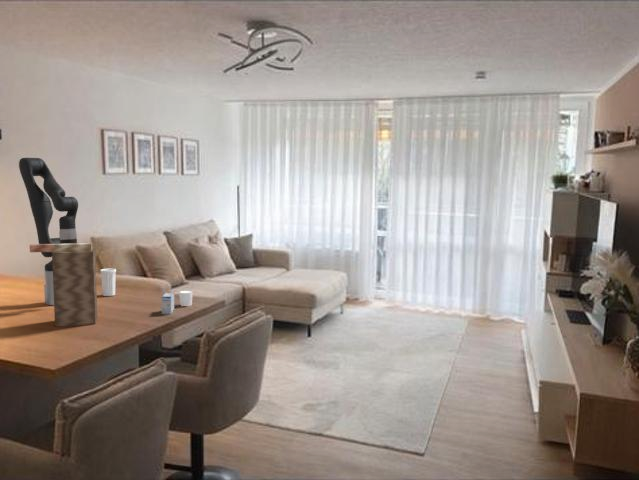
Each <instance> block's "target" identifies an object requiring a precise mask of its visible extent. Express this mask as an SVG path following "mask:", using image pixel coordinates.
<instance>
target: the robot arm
mask: <svg viewBox="0 0 639 480" xmlns="http://www.w3.org/2000/svg"><path fill="white" fill-rule="evenodd" d="M18 168H19V172H20V175H21V178H22V181H23V184H24V187H25V190H26V192H27V196H28V201H29V205H30V208H31V213H32V216H33V220H34V224H35V228H36V234H37V240H38V241H37V242H38V244H71V243H78V237H77V235H78V234H77V230H76V229H77V227H76V219H77V213H78V208H79V202H78V200H77V198H76V197H75V196H66V191H65V190H64V189H63V188H62V187H61V185H60V184H59V183H58V182H57V181H56V179H55V177H54V175H53V173H52V171H51V170H50V168H49V167H48V165H47V163H46V162H45V161H44V160H43V159H42V158H40V157H21V158H20V159H19V161H18ZM35 177H41V178H42V179H43V183H42V185H43V190H42V188H40V186H39V185H38V184H37V182H36V179H35ZM52 204H53V206H52ZM53 207H54V209H55V210H56V211H58V212H61V213H63V212H67V213H66V214H65V215H64V216H61V217H59V219H58V224H59V232H58V234H59V237H50V233H49V227H50V223H51V221H52V218H53V213H54V210H53ZM40 253H41V255H42V256H43V257H44V258H52V253H53V252H40ZM44 282H45V283H44V302H45V303H44V304H46V305H47V306H54V290H53V266H52V259H51V260H50V261H49V262H48V263H45V265H44Z"/></svg>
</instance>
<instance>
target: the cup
mask: <svg viewBox="0 0 639 480" xmlns="http://www.w3.org/2000/svg"><path fill="white" fill-rule="evenodd" d="M99 271H100V277H101V278H100V279H101V290H102V296H104V297H112V296H115V295H116V279H117V278H116V273H117V269H116V268H113V267H112V268H111V267H109V268H108V267H107V268H102V269H100V270H99Z"/></svg>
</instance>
